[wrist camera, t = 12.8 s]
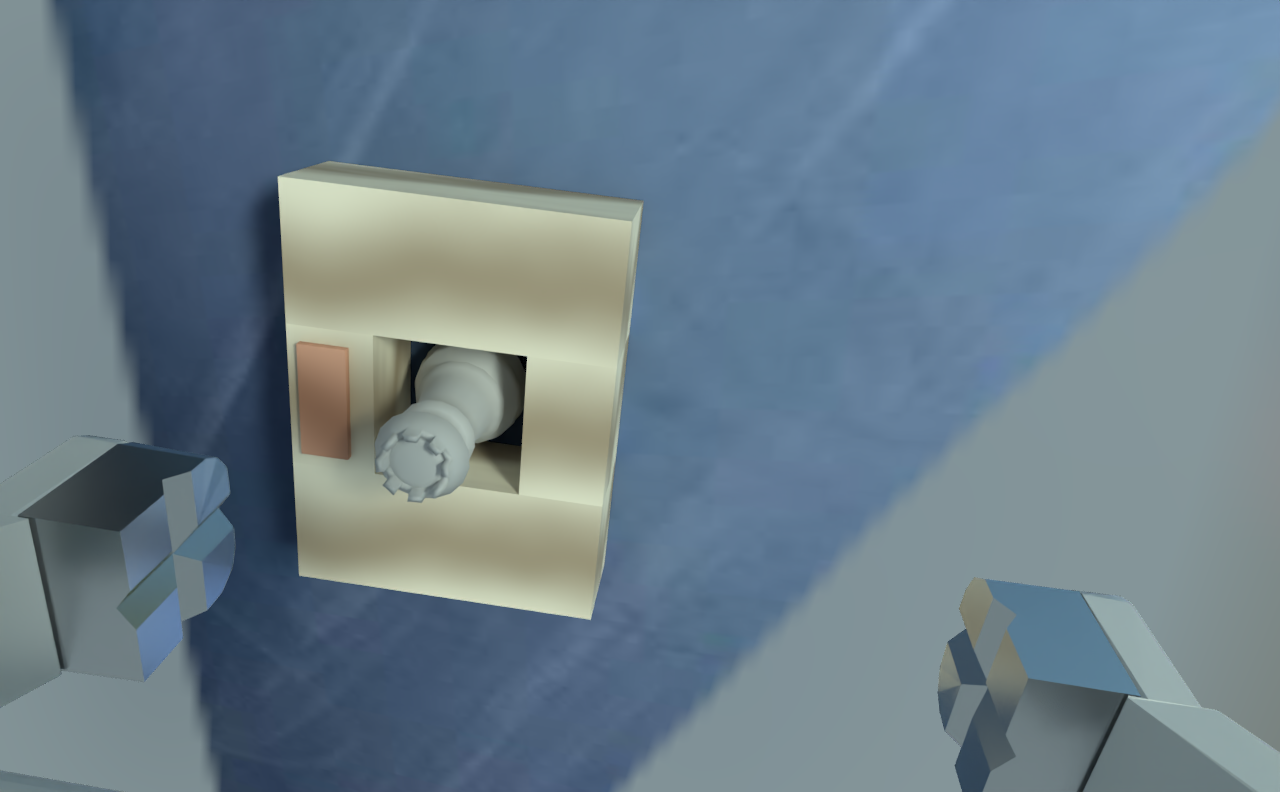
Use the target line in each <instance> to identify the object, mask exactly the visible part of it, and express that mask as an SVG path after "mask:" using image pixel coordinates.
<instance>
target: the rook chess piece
mask: <svg viewBox="0 0 1280 792" xmlns="http://www.w3.org/2000/svg"><path fill="white" fill-rule="evenodd" d="M525 385H526V373H525V371H524V369H523V366H522V364H521V362H520V359H519V358H518V357H517V356H516V355H513V354H506V353H499V352H491V351H484V350H477V349H469V348H462V347H455V346H447V345H440V344H436V345H435V346H434V347H433V348H432V349H431V350H430V351H429V352H428V354H427V356H426V358H425V359H424V360H423V361H422V363H421V366H420V368H419V371H418V374H417V376H416V379H415V393H416V403H415V404H412V405H411V406H410V407H409V408H408V409H407V410H405V411H404V412H403V413H402V414H399V415H396V416H393V417H392V418H391V419H390V420H388V421H387V422H386V423H385V424H384V425H383V426H382V427H381V428H380V430H379V433H378V436H377V438H376V441H375V454H376V458H375V468H376V473H377V472H382V473H383V475H384V477H385V478H386V479H387V480H386V481H385V483H384V484H383V486H384V487H385V488H386V489H387V490H388V491H389V492H390V493H391V494H392V495H394V494H395V493H396V491H397V490H401V491H403V492H405V493H407V494H408V500H407V502H418V503H422V502H423V500H424V499H425V498H433V499H434V498H435V499H436V498H437V497H441V496H444V495H448V494H451V493H452V492H453V491H454V490H455V489H456V488H458V487H459V486H460V485H461V484H462V483H463V482H464V479H465V477H466V475H467V472H468V470H469V459H470V457H471V455H472V453H473V450H474V448H475V443H480V442H484V441H487V440H490V439H494V438H496V437H498V436H500V435H501V434H502V433H503V432H504V431H506V430H507V429H508V428H509V427H510V426H511V425H513V424H514V422H515V420H516V419H517V418H518V417H519V416H520V415H521V412H522V410H523V408H524V402H525Z"/></svg>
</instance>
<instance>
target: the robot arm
mask: <svg viewBox="0 0 1280 792" xmlns="http://www.w3.org/2000/svg"><path fill="white" fill-rule="evenodd" d="M229 494H230V486H229V479H228V472H227V467H226V466H225V465H224V464H223V463H222V462H221V461H220V460H219V459H218V458H217V457H213V456H207V455H202V454H196V453H190V452H185V451H179V450H173V449H168V448H162V447H157V446H151V445H145V444H140V443H134V442H131V443H129V442H127V441H124V440H118V439H110V438H103V437H97V436H90V435H88V436H73V437H72V438H70V439H69V440H67V441H65V442H64V443H62V444H61V445H59V446H58V447H56V448H54V449H53V450H51V451H50V452H48V453H47V454H45V455H44V456H42V457H41V458H39V459H37V460H36V461H34V462H33V463H31V464H30V465H28V466H27V467H25V468H24V469H22V470H20V471H19V472H17V473H16V474H14V475H13V476H11V477H10V478H8V479H7V480H5V481H3V482H2V483H0V708H1V707H3V706H5V705H6V704H8V703H10V702H12V701H14V700H16V699H18V698H20V697H21V696H23V695H25V694H27V693H29V692H31V691H33V690H34V689H36V688H38V687H40V686H42V685H44V684H46V683H47V682H49V681H51V680H53V679H55V678H57V677H59V676H60V675H61V674H62V673H61V671H68V672H76V673H82V674H90V675H97V676H104V677H111V678H119V679H126V680H133V681H140V682H145V681H146V680H147V679H148V678H149V676H150V675H151V674H152V673H153V672H154V671H155V670H156V668H157V667H158V666H159V665H160V664H161V663H162V662H163V660H164V659H165V658H166V657H167V656H168V655H169V654H170V653H171V651H172V650H173V649H174V648H175V647H176V646H177V645H178V643H179V642H180V641H181V640H182V639H183V632H182V624H181V622H182V621H184V620H186V619H188V618H191V617H193V616H195V615H198V614H200V613H202V612H204V611H207V610H208V609H209V608H210V606H211V605H212V604H213V603H214V601H215V600H216V599H217V598H218V597H219V595H220V594H221V593H222V591H223V589H224V587H225V584H226V582H227V580H228V577H229V575H230V572H231V570H232V568H233V561H234V553H235V536H234V527H233V526H232V525H231V523H230V522H229V521H228V519H227V518H226V517H225V516H224V514H223V513H222V512H221V511H220V509H219V507H220V506H221V504H222V503H223V502H224V501H225V499H226V498H227V497H228V496H229ZM959 610H960V613H961V615H962V618H963V621H964V624H965V627H966V629H965V630H964V631H962V632H961V633H959V634H958V635H956V636H955V637H954V638H952V639H951V640H949V641H948V643H947V645H946V649H945V652H944V655H943V659H942V662H941V665H940V673H939V684H938V700H939V710H940V714H941V718H942V723H943V726H944V730H945V732H946V733H947V734H948V735H949V736H950V737H951V738H953V740H954V741H955V742H956V743H958V745H960V747H961V750H960V753H959V756H958V758H957V761H956V764H955V768H956V772H957V775H958V778H959V782H960V785H961V789H962V792H1280V753H1279V752H1278V751H1277V750H1275V749H1274V748H1272V747H1271V746H1269V745H1268V744H1266V743H1265V742H1264V741H1262V740H1261V739H1259V738H1257V737H1256V736H1255V735H1253V734H1252V733H1250V732H1249V731H1247V730H1246V729H1245V728H1243V727H1242V726H1240V725H1239V724H1237V723H1236V722H1234V721H1233V720H1231V719H1230V718H1229V717H1227V716H1225V715H1224V714H1223V713H1221V712H1220V711H1218V710H1213V709H1207V708H1202V707H1201V706H1200V705H1199V703H1198V702H1197V700H1196V699H1195V697H1194V695H1193V694H1192V693H1191V691H1190V690H1189V688H1188V686H1187V685H1186V684H1185V682H1184V680H1183V679H1182V678H1181V676H1180V674H1179V673H1178V672H1177V670H1176V669H1175V667H1174V665H1173V664H1172V662H1171V661H1170V659H1169V658H1168V656H1167V655H1166V654H1165V652H1164V650H1163V649H1162V647H1161V646H1160V645H1159V643H1158V641H1157V640H1156V638H1155V637H1154V636H1153V634H1152V632H1151V631H1150V629H1149V628H1148V626H1147V625H1146V623H1145V622H1144V620H1143V619H1142V618H1141V616H1140V615H1139V613H1138V611H1137V610H1136V608H1135V607H1134V605H1132V603H1131V602H1129V601H1128V600H1126V599H1125V598H1123V597H1121V596H1117V595H1109V594H1100V593H1093V592H1084V591H1076V590H1064V589H1057V588H1049V587H1042V586H1034V585H1027V584H1019V583H1012V582H1005V581H997V580H990V579H983V578H973V580H972V581H971V583H970V584H969V586H968V587H967V589H966V590H965V593H964V596H963V599H962V602H961V604H960V607H959ZM0 792H122V791H117V790H110V789H105V788H99V787H93V786H88V785H82V784H76V783H70V782H65V781H59V780H53V779H47V778H41V777H36V776H30V775H24V774H18V773H13V772H6V771H1V770H0Z"/></svg>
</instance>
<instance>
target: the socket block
mask: <svg viewBox="0 0 1280 792" xmlns="http://www.w3.org/2000/svg"><path fill="white" fill-rule="evenodd" d="M278 188H279V207H280V225H281V244H282V263H283V281H284V300H285V319H286V338H287V356H288V375H289V394H290V412H291V431H292V450H293V468H294V487H295V506H296V525H297V543H298V562H299V576H305V577H312V578H319V579H325V580H332V581H338V582H345V583H352V584H358V585H365V586H372V587H378V588H385V589H391V590H398V591H405V592H411V593H418V594H425V595H431V596H438V597H444V598H451V599H458V600H464V601H471V602H477V603H484V604H491V605H497V606H504V607H511V608H517V609H524V610H530V611H537V612H544V613H550V614H557V615H564V616H570V617H577V618H583V619H590V620H591V616H592V612H593V608H594V604H595V600H596V596H597V591H598V587H599V583H600V579H601V575H602V571H603V567H604V561H605V552H606V543H607V534H608V524H609V515H610V506H611V497H612V487H613V478H614V469H615V460H616V450H617V441H618V432H619V423H620V414H621V404H622V395H623V386H624V377H625V367H626V358H627V349H628V340H629V330H630V321H631V312H632V303H633V293H634V284H635V275H636V266H637V257H638V247H639V238H640V229H641V220H642V210H643V201H641V200H633V199H625V198H617V197H609V196H601V195H593V194H585V193H577V192H569V191H562V190H554V189H546V188H538V187H530V186H522V185H514V184H506V183H498V182H490V181H483V180H475V179H467V178H459V177H451V176H443V175H435V174H427V173H419V172H411V171H404V170H396V169H388V168H380V167H372V166H364V165H356V164H348V163H340V162H332V161H327V162H324V163H321V164H317V165H314V166H311V167H307V168H304V169H301V170H297V171H294V172H291V173H287V174H284V175H280V176H278ZM411 341H418V342H425V343H433V344H440V345H447V346H455V347H462V348H469V349H477V350H484V351H491V352H499V353H506V354H513V355H521V356H527V369H526V385H525V402H524V418H523V434H522V446H516V445H509V444H502V443H495V442H488V441H484V442H480V443H475V448H474V450H473V453H472V455H471V457H470V459H469V470H468V472H467V475H466V477H465V479H464V482H463V483H462V484H461V485H460V486H459V487H458V488H456V489H455V490H454V491H453V492H452V493H451V494H448V495H444V496H441V497H437V498H436V499H435V498H434V499H433V498H425V499H424V500H423V502H422V503H418V502H407V500H408V494H407V493H405V492H403V491H401V490H397V491H396V493H395V494H394V495H392V494H391V493H390V492H389V491H388V490H387V489H386V488H385V487H384V486H383V484H384V483H385V481H386V480H387V479H386V478H385V477H384V475H383V473H382V472H377V473H376V468H375V458H376V454H375V441H376V438H377V436H378V433H379V430H380V428H381V427H382V426H383V425H384V424H385V423H386V422H387V421H388V420H390V419H391V418H392V417H393V416H396V415H399V414H402V413H403V412H404V411H405V410H407V409H408V408H409V407H410V404H411Z"/></svg>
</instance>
